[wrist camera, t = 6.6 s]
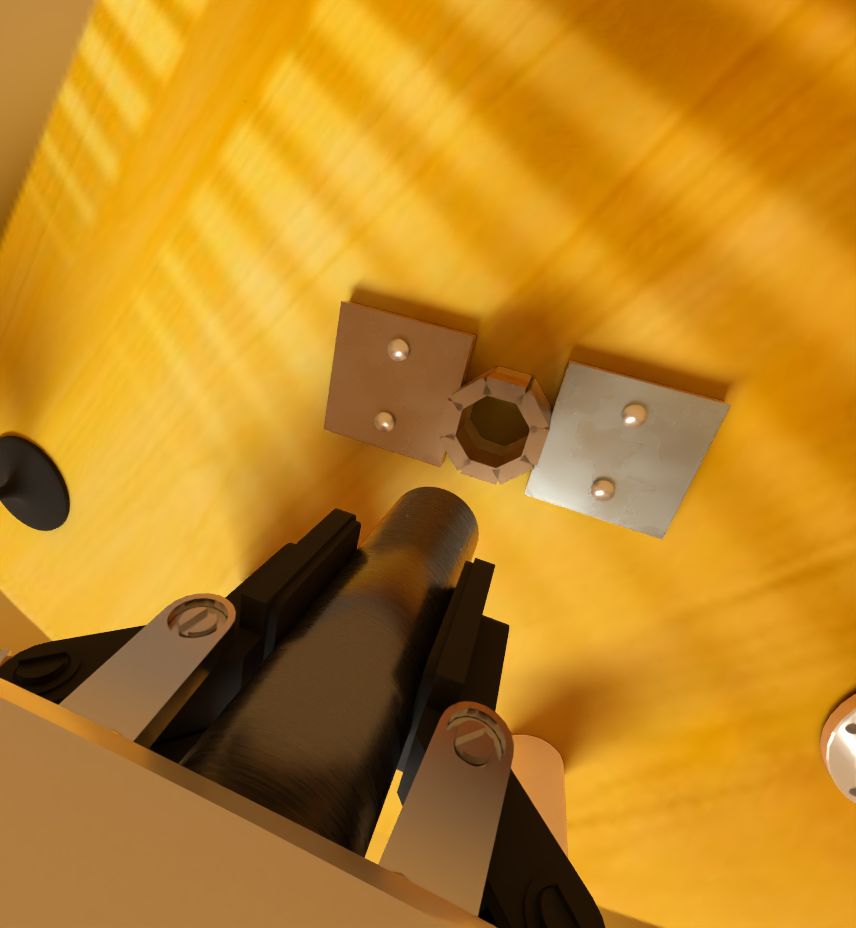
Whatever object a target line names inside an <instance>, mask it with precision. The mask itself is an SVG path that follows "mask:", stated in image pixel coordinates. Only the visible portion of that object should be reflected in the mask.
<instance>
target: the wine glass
mask: <svg viewBox="0 0 856 928" xmlns="http://www.w3.org/2000/svg"><path fill="white" fill-rule="evenodd" d="M0 501H1V502H2V503H3V505H4V506H5V507H6V508H7V509H8V511H9V512H10V513H11V514H12V515H14V516H15V517H16V518H17V519H18V520H20V521H21V522H22V523H24V524H26V525H27V526H29V527H31V528H34V529H37V530H42V531H49V530H53V529H56V528H58V527H60V526H61V525H62V524H63V523H64V522H65V521H66V518H67V516H68V512H69V497H68V492H67V489H66V486H65V483H64V481H63V479H62V477H61V475H60V473H59V471H58V470H57V468H56V466H55V465H54V464H53V462H52V461H51V460H50V459H49V458H48V456H47V455H46V454H45V453H44V452H43V451H41V450H40V449H39V448H38V447H37V446H35V445H34V444H32V443H30V442H29V441H27V440H25V439H22V438H20V437H15V436H6V437H2V438H0Z"/></svg>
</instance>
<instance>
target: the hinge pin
mask: <svg viewBox="0 0 856 928" xmlns="http://www.w3.org/2000/svg"><path fill="white" fill-rule="evenodd" d="M478 535H479V532H478V525H477V521H476V518H475V516H474V514H473V512H472V511H471V509H470V508H469V507H468V505H467V504H466V503H465V502H464V501H463V500H462V499H461V498H459V497H458V496H456V495H455V494H453V493H451V492H449V491H447V490H444V489H441V488H436V487H421V488H417V489H413V490H411V491H409V492H407V493H406V494H404V495H403V496H402V497H401V498H400V499H399V500H398V501H397V502H396V503H395V505H394V506H393V507H392V508H391V509H390V511H389V512H388V513H387V514H386V515H385V517H384V518H383V519H382V520H381V521H380V523H379V524H378V525H377V526H376V527H375V529H374V530H373V531H372V532H371V533H370V535H369V536H368V537H367V538H366V539H365V541H364V542H363V543H362V544H361V545H360V547H359V548H358V549H357V550H356V551H355V553H354V554H353V555H352V556H351V557H350V559H349V560H348V561H347V562H346V563H345V565H344V566H343V567H342V568H341V569H340V571H339V572H338V573H337V574H336V575H335V577H334V578H333V579H332V580H331V581H330V583H329V584H328V585H327V586H326V587H325V589H324V590H323V591H322V592H321V593H320V595H319V596H318V597H317V598H316V599H315V601H314V602H313V603H312V604H311V605H310V607H309V608H308V609H307V610H306V611H305V613H304V614H303V615H302V616H301V617H300V619H299V620H298V621H297V622H296V623H295V625H294V626H293V627H292V628H291V629H290V631H289V632H288V633H287V634H286V635H285V637H284V638H283V639H282V640H281V641H280V642H279V644H278V645H277V646H276V647H275V648H274V650H273V651H272V652H271V653H270V654H269V656H268V657H267V658H266V659H265V660H264V662H263V663H262V664H261V665H260V666H259V668H258V669H257V670H256V671H255V672H254V674H253V675H252V676H251V677H250V678H249V680H248V681H247V682H246V683H245V684H244V686H243V687H242V688H241V689H240V690H239V692H238V693H237V694H236V695H235V696H234V698H233V699H232V700H231V701H230V702H229V704H228V705H227V706H226V707H225V708H224V710H223V711H222V712H221V713H220V714H219V716H218V717H217V718H216V719H215V720H214V722H213V723H212V724H211V725H210V726H209V728H208V729H207V730H206V731H205V732H204V734H203V735H202V736H201V737H200V738H199V740H198V741H197V742H196V743H195V744H194V746H193V747H192V748H191V749H190V750H189V752H188V753H187V754H186V755H185V756H184V758H183V759H182V760H181V761H180V762H179V765H181V766H183V767H185V768H187V769H189V770H191V771H193V772H195V773H197V774H199V775H201V776H203V777H205V778H207V779H209V780H211V781H213V782H215V783H217V784H219V785H221V786H223V787H225V788H227V789H229V790H231V791H233V792H235V793H237V794H239V795H241V796H243V797H245V798H247V799H249V800H251V801H253V802H255V803H257V804H259V805H261V806H263V807H265V808H267V809H269V810H271V811H273V812H275V813H277V814H279V815H281V816H283V817H285V818H287V819H289V820H291V821H293V822H295V823H297V824H299V825H301V826H303V827H305V828H306V829H308V830H310V831H312V832H314V833H316V834H318V835H320V836H322V837H324V838H326V839H328V840H330V841H332V842H334V843H336V844H338V845H340V846H342V847H344V848H346V849H348V850H350V851H352V852H354V853H356V854H358V855H360V856H362V857H364V858H365V855H366V852H367V849H368V846H369V843H370V841H371V838H372V835H373V832H374V830H375V827H376V824H377V821H378V819H379V816H380V813H381V810H382V807H383V805H384V802H385V799H386V796H387V793H388V791H389V788H390V785H391V782H392V780H393V777H394V774H395V771H396V768H397V766H398V763H399V760H400V757H401V755H402V752H403V749H404V746H405V743H406V741H407V738H408V735H409V732H410V729H411V726H412V721H413V710H412V709H413V706H414V702H415V699H416V696H417V692H418V689H419V685H420V682H421V679H422V676H423V673H424V670H425V667H426V664H427V661H428V658H429V656H430V653H431V650H432V648H433V645H434V642H435V640H436V637H437V635H438V632H439V629H440V627H441V624H442V621H443V619H444V616H445V614H446V611H447V608H448V606H449V603H450V601H451V598H452V595H453V593H454V590H455V587H456V585H457V582H458V580H459V577H460V574H461V572H462V569H463V566H464V564H465V561H469V562H471V560H472V557H473V554H474V551H475V549H476V546H477V542H478Z"/></svg>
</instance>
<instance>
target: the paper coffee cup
mask: <svg viewBox="0 0 856 928" xmlns="http://www.w3.org/2000/svg"><path fill="white" fill-rule="evenodd" d="M512 738H513V742H514V756H513V760H512V765H511V769H512V771H513V772H514V774H515V775H516V777H517V779H518V780H519V782H520V783H521V785H522V787H523V788H524V790H525V791H526V793H527V795H528V796H529V798H530V799H531V801H532V802H533V804H534V806H535V807H536V809H537V810H538V812H539V814H540V815H541V817H542V818H543V820H544V821H545V823H546V825H547V826H548V828H549V829H550V831H551V833H552V834H553V836H554V837H555V839H556V840H557V842H558V844H559V845H560V847H561V848H562V850H563V852H564V853H565V855H566V856H567V858H568V848H567V825H566V802H565V778H564V763H563V760H562V758H561V755H560V754H559V752H558V751H557V750H556V749H555V748H554V747H553V746H552V745H551V744H549V743H547V742H546V741H544V740H542V739H540V738H538V737H534V736H530V735H526V734H524V735H512Z"/></svg>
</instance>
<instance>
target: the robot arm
mask: <svg viewBox="0 0 856 928" xmlns="http://www.w3.org/2000/svg"><path fill="white" fill-rule="evenodd" d="M360 528H361V523H360V522H358V521H356V516H355V515H354V514H351V513H348V512H345V511H342V510H340V509H334V510H333V511H332V512H331V513H330V514H329V515H328V516H326V517H325V518H324V519H323V520H322V521H321V522H320V523H319V524H318V525H317V526H315V527H314V528H313V529H312V530H311V531H310V532H309V533H308V534H307V535H306V536H304V537H303V538H302V539H301V540H300V541H299V542H298V543H297V544H293V543H288V544H287V545H285V546H284V547H283V548H282V549H280V550H279V551H278V552H277V553H276V554H275V555H274V556H272V557H271V558H270V559H269V560H268V561H267V562H266V563H264V564H263V565H262V566H261V567H260V568H259V569H258V570H256V571H255V572H254V573H253V574H252V575H251V576H250V577H248V578H247V579H246V580H245V581H244V582H243V583H242V584H240V585H239V586H238V587H237V588H236V589H235V590H234V591H232V592H231V593H230V594H229V595H228V596H227V597H226V598H224V597H222V596H220V595H215V594H209V593H207V594H194V595H189V596H185V597H183V598H181V599H178V600H176V601H174V602H173V603H172V604H170V605H169V606H167V607H166V608H165V609H164V610H163V611H162V612H161V613H159V614H158V615H157V616H156V617H155V618H154V619H153V620H152V621H151V622H149V623H148V624H147V625H144V626H139V627H133V628H127V629H121V630H115V631H109V632H104V633H98V634H92V635H86V636H80V637H75V638H69V639H63V640H57V641H51V642H47V643H43V644H39V645H36V646H33V647H31V648H28V649H26V650H24V651H22V652H20V653H18V654H16V655H15V656H12V653H11V650H0V928H605V925H604V921H603V918H602V915H601V914H600V911H599V909H598V907H597V905H596V903H595V901H594V900H593V898H592V896H591V894H590V893H589V891H588V890H587V888H586V886H585V885H584V883H583V882H582V880H581V879H580V877H579V875H578V874H577V872H576V871H575V869H574V867H573V866H572V864H571V863H570V861H569V860H568V858H567V856H566V855H565V853H564V852H563V850H562V848H561V847H560V845H559V844H558V842H557V840H556V839H555V837H554V836H553V834H552V833H551V831H550V829H549V828H548V826H547V825H546V823H545V821H544V820H543V818H542V817H541V815H540V814H539V812H538V810H537V809H536V807H535V806H534V804H533V802H532V801H531V799H530V798H529V796H528V795H527V793H526V791H525V790H524V788H523V787H522V785H521V783H520V782H519V780H518V779H517V777H516V775H515V774H514V772H513V771H512V769H511V765H512V760H513V756H514V742H513V738H512V735H511V732H510V730H509V728H508V727H507V725H506V723H505V722H504V720H503V719H502V718H501V717H500V716H499V715H498V714H497V713H496V712H495V709H496V703H497V697H498V691H499V686H500V680H501V674H502V668H503V662H504V656H505V650H506V644H507V638H508V633H509V625H507V624H505V623H502V622H499V621H497V620H494V619H492V618H489V617H486V616H484V615H482V613H483V610H484V606H485V602H486V598H487V595H488V591H489V587H490V583H491V579H492V576H493V572H494V568H495V565H494V564H491V563H489V562H486V561H483V560H480V559H477V558H475V560H474V563H472V562H469V561H465V564H464V566H463V569H462V572H461V574H460V577H459V580H458V582H457V585H456V587H455V590H454V593H453V595H452V598H451V601H450V603H449V606H448V608H447V611H446V614H445V616H444V619H443V621H442V624H441V627H440V629H439V632H438V635H437V637H436V640H435V642H434V645H433V648H432V650H431V653H430V656H429V658H428V661H427V664H426V667H425V670H424V673H423V676H422V679H421V682H420V685H419V689H418V692H417V696H416V699H415V702H414V706H413V709H412V710H413V721H412V726H411V729H410V732H409V735H408V738H407V741H406V743H405V746H404V749H403V752H402V755H401V757H400V760H399V763H398V766H397V768H396V769H397V770H399V771H402V772H403V775H402V778H401V781H400V785H399V788H398V791H397V794H398V796H399V798H400V801H401V803H402V806H403V807H402V810H401V812H400V815H399V817H398V819H397V822H396V824H395V826H394V829H393V831H392V833H391V836H390V838H389V841H388V843H387V845H386V848H385V850H384V852H383V855H382V857H381V859H380V862H379V864H378V865H377V864H375V863H373V862H371V861H369V860H367V859H365V858H364V857H362V856H360V855H358V854H356V853H354V852H352V851H350V850H348V849H346V848H344V847H342V846H340V845H338V844H336V843H334V842H332V841H330V840H328V839H326V838H324V837H322V836H320V835H318V834H316V833H314V832H312V831H310V830H308V829H306V828H305V827H303V826H301V825H299V824H297V823H295V822H293V821H291V820H289V819H287V818H285V817H283V816H281V815H279V814H277V813H275V812H273V811H271V810H269V809H267V808H265V807H263V806H261V805H259V804H257V803H255V802H253V801H251V800H249V799H247V798H245V797H243V796H241V795H239V794H237V793H235V792H233V791H231V790H229V789H227V788H225V787H223V786H221V785H219V784H217V783H215V782H213V781H211V780H209V779H207V778H205V777H203V776H201V775H199V774H197V773H195V772H193V771H191V770H189V769H187V768H185V767H183V766H181V765H179V762H180V761H181V760H182V759H183V758H184V756H185V755H186V754H187V753H188V752H189V750H190V749H191V748H192V747H193V746H194V744H195V743H196V742H197V741H198V740H199V738H200V737H201V736H202V735H203V734H204V732H205V731H206V730H207V729H208V728H209V726H210V725H211V724H212V723H213V722H214V720H215V719H216V718H217V717H218V716H219V714H220V713H221V712H222V711H223V710H224V708H225V707H226V706H227V705H228V704H229V702H230V701H231V700H232V699H233V698H234V696H235V695H236V694H237V693H238V692H239V690H240V689H241V688H242V687H243V686H244V684H245V683H246V682H247V681H248V680H249V678H250V677H251V676H252V675H253V674H254V672H255V671H256V670H257V669H258V668H259V666H260V665H261V664H262V663H263V662H264V660H265V659H266V658H267V657H268V656H269V654H270V653H271V652H272V651H273V650H274V648H275V647H276V646H277V645H278V644H279V642H280V641H281V640H282V639H283V638H284V637H285V635H286V634H287V633H288V632H289V631H290V629H291V628H292V627H293V626H294V625H295V623H296V622H297V621H298V620H299V619H300V617H301V616H302V615H303V614H304V613H305V611H306V610H307V609H308V608H309V607H310V605H311V604H312V603H313V602H314V601H315V599H316V598H317V597H318V596H319V595H320V593H321V592H322V591H323V590H324V589H325V587H326V586H327V585H328V584H329V583H330V581H331V580H332V579H333V578H334V577H335V575H336V574H337V573H338V572H339V571H340V569H341V568H342V567H343V566H344V565H345V563H346V562H347V561H348V560H349V559H350V557H351V556H352V555H353V554H354V553H355V551H356V549H357V544H358V538H359V533H360ZM820 748H821V756H822V758H823V761H824V764H825V766H826V769H827V770H828V772H829V774H830V775H831V777H832V779H833V780H834V782H835V784H836V786H837V787H838V788H839V789H840V790H841V792H842V793H843V794H844V795H845V796H846V797H847V798H848V799H850V800H851V801H852V802H854V803H855V804H856V694H854V695H853V696H851V697H850V698H849V699H847V700H846V701H844V702H843V703H841V704H840V705H839V707H838V708H837V709H836V710H835V711H834V712H833V713H832V714H831V715H830V717H829V718H828V720H827V722H826V724H825V726H824V727H823V730H822V735H821V739H820Z"/></svg>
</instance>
